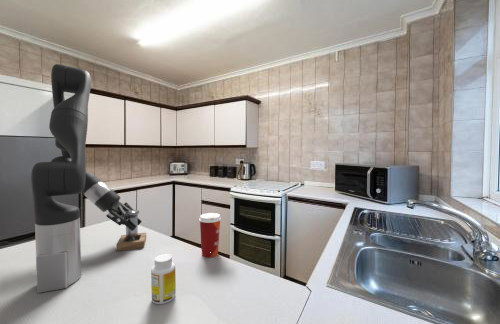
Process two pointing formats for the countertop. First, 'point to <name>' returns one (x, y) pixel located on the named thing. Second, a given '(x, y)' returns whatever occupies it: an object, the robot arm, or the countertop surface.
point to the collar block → (131, 242)
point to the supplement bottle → (163, 279)
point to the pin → (133, 217)
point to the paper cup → (210, 234)
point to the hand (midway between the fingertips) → (137, 226)
